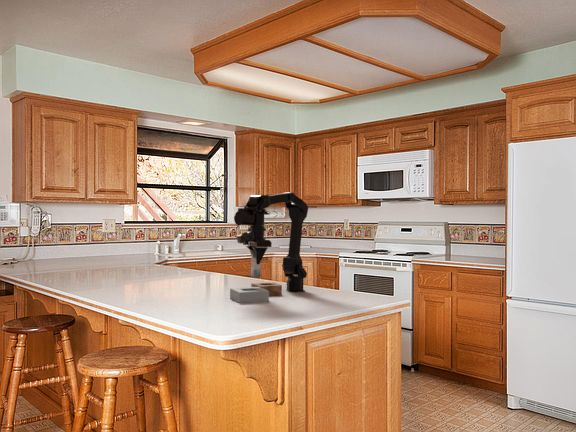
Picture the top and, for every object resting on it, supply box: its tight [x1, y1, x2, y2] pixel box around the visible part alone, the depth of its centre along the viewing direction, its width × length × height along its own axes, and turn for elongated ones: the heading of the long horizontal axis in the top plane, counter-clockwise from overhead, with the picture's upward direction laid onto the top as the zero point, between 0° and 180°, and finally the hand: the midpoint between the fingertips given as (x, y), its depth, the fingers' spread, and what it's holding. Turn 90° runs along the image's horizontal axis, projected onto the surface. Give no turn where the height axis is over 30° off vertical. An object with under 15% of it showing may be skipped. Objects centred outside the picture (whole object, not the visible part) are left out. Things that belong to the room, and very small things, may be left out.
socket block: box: [229, 286, 270, 304], centre depth 206 cm, size 12×12×4 cm
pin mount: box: [250, 281, 283, 296], centre depth 222 cm, size 10×10×4 cm
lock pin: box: [250, 250, 262, 279], centre depth 213 cm, size 5×5×11 cm
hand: (256, 263), depth 213 cm, fingers closed on lock pin, 4 cm apart
